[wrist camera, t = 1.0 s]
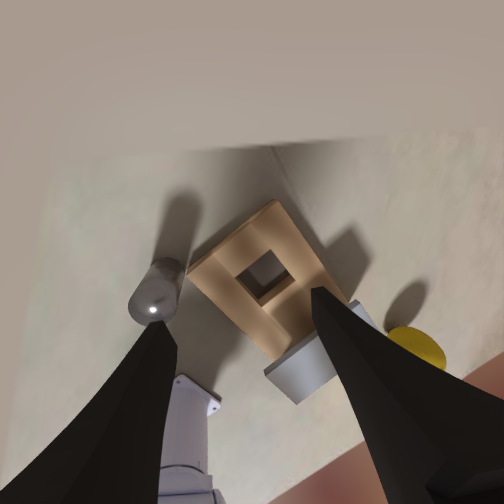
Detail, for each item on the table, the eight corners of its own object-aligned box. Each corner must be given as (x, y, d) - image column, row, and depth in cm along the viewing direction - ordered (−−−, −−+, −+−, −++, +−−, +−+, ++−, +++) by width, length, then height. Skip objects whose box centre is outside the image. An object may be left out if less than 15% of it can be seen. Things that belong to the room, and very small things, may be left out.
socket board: (278, 359, 31) (296, 405, 25) (187, 268, 25) (181, 299, 18) (347, 305, 31) (384, 338, 24) (272, 199, 24) (296, 206, 18)
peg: (166, 294, 25) (152, 334, 19) (141, 272, 24) (117, 306, 17) (191, 274, 25) (185, 307, 18) (167, 251, 24) (152, 278, 17)
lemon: (377, 317, 32) (428, 359, 25) (409, 313, 33) (468, 352, 26) (370, 349, 34) (416, 396, 26) (402, 344, 35) (455, 389, 27)
